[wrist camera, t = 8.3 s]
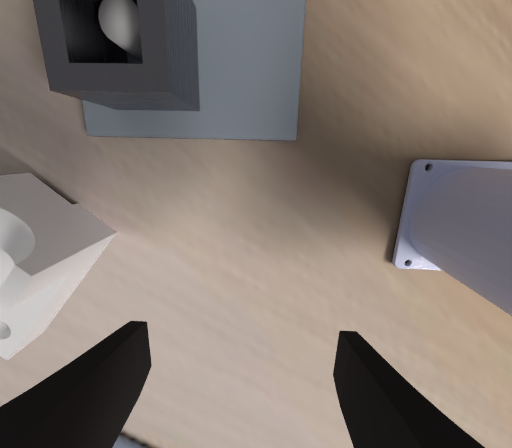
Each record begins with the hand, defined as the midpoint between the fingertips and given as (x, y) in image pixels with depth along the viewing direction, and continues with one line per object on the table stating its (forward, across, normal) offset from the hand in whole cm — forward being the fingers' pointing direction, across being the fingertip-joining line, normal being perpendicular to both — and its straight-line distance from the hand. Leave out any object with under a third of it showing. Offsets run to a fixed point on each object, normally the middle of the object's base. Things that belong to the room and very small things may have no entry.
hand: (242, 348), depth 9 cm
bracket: (+11, +18, +2) cm, 21 cm away
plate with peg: (+10, +4, -13) cm, 17 cm away
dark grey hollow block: (+10, +6, -12) cm, 17 cm away
